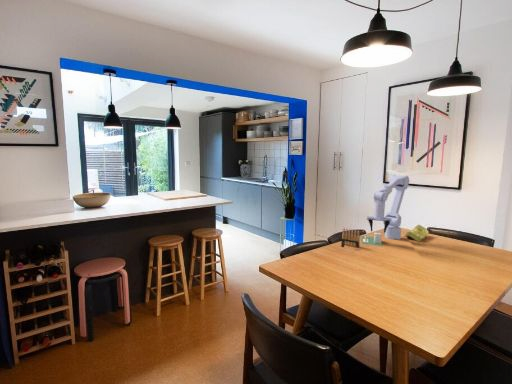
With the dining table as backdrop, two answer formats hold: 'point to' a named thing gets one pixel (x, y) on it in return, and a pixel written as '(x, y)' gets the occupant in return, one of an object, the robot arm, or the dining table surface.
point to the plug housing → (377, 238)
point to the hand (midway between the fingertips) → (378, 231)
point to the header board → (369, 241)
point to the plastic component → (418, 233)
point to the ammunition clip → (350, 238)
